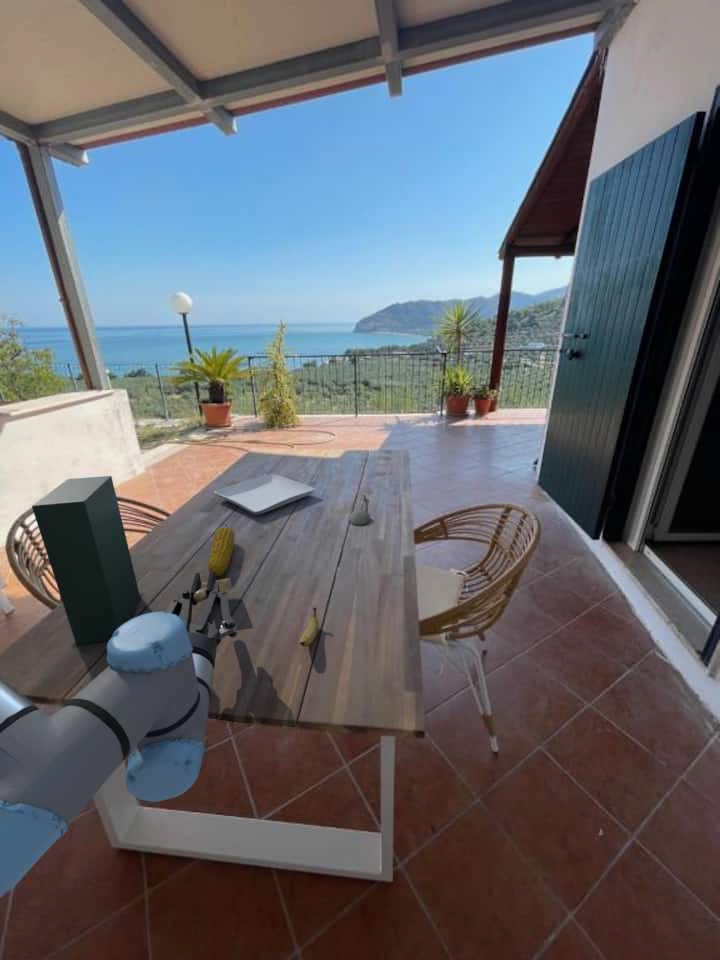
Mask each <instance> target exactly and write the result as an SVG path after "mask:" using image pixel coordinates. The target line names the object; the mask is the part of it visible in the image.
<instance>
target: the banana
mask: <svg viewBox="0 0 720 960" xmlns="http://www.w3.org/2000/svg"><path fill="white" fill-rule="evenodd" d="M312 610H313V615H312V617H311V619H310V621H309V623H308V625H307V626H306V628H305V630H303V631H304V632H303V634H302V635H301V637H300V638H299V640H298V643H299V644H300V645H301V646H303V647H309V646H310V645H311V644H312V643H313V641H314V640H315V638H316V636H317V633H318V630H319V620H318V618H317V607H313V608H312Z"/></svg>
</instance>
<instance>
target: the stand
mask: <svg viewBox="0 0 720 960" xmlns="http://www.w3.org/2000/svg"><path fill="white" fill-rule="evenodd" d="M31 508H32V511H33V515H34V519H35V522H36V523H37V524H36V525H37V527H38V530H39V533H40V537H41V539H42V543H43V545H44V549H45V552H46V555H47V558H48V561H49V565H50V568H51V571H52V573H53V577H54V580H55V583H56V586H57V589H58V592H59V595H60V598H61V601H62V604H63V605H62V606H63V608H64V611H65V614H66V617H67V620H68V623H69V626H70V630H71V633H72V635H73V639H74V642H75V645H76V646H77V645H78V646H79V645H83V644H84V645H85V644H90V643H97V642H102V641H103V642H104V641H109V640H110V639H111V638H112V636H113V633H114V632H115V631H116V630H117V629H118V628H119V627H120V626H121V625H123V624H124V623H126V622H127V621H129V620H131V616H132V614H133V612H134V610H135V608H136V606H137V603H138V601H139V599H140V597H141V595H140V591H139V586H138V582H137V578H136V574H135V573H136V572H135V569H134V565H133V561H132V556H131V553H130V548H129V544H128V541H127V535H126V531H125V527H124V524H123V519H122V515H121V511H120V507H119V502H118V499H117V494H116V489H115V486H114V482H113V477H112V475H103V476H92V477H78V478H67V479H66V480H64V481H63V482H62V483H60V484H59V485H58V486H56V487H55V488H54V489H53V490H51V491H49V493H46V495H44V496H43V497H42V498H40V499H39V500H38V501H36V502H35V503H33V504H32V505H31Z"/></svg>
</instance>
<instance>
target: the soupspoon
mask: <svg viewBox="0 0 720 960" xmlns="http://www.w3.org/2000/svg"><path fill="white" fill-rule="evenodd" d="M362 496H363V497H362ZM362 496H361V502H360V506H359V509H358V510H354V511H353V512H351V513H350V515H349V521H350V522H351V523H352V524H353V525H355V526H363V525H366V524H368V523H369V521H370V517H371V516H370V514H369V512H368V511H365V510H363V507H364V502H365V500H366V499H368V497H366V496H367V495H366V494H363V495H362ZM365 497H366V498H365Z"/></svg>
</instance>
